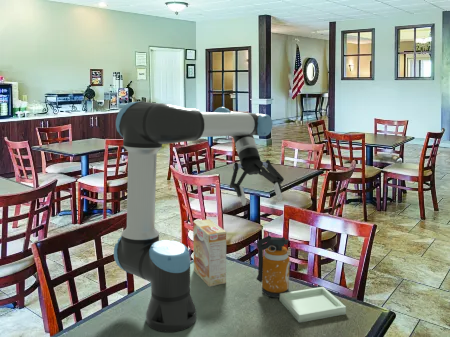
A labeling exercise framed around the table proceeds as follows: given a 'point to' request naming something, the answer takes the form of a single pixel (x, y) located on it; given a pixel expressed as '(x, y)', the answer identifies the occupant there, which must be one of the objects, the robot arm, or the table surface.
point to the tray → (312, 304)
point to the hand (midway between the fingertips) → (262, 202)
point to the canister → (273, 266)
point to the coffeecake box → (209, 252)
